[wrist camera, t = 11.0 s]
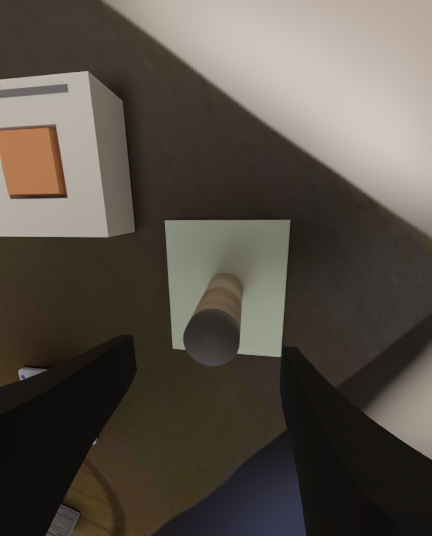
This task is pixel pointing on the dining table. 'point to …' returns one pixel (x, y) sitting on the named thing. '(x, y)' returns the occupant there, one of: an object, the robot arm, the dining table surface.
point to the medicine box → (63, 522)
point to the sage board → (237, 264)
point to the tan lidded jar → (216, 322)
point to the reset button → (32, 162)
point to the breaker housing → (70, 157)
